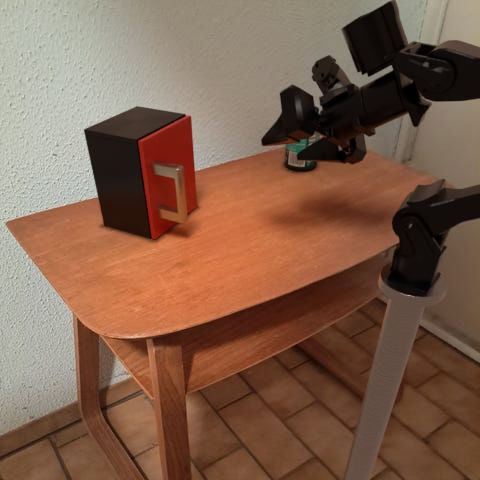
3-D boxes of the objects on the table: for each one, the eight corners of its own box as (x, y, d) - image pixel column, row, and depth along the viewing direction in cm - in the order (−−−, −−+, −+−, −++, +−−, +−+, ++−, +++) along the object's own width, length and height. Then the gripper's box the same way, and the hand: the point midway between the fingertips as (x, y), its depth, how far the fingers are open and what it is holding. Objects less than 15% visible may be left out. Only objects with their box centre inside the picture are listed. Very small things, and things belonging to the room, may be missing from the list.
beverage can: (314, 159, 106) (319, 103, 98) (318, 172, 100) (325, 113, 93) (282, 160, 106) (286, 103, 98) (285, 172, 100) (289, 114, 92)
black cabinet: (192, 206, 89) (185, 113, 78) (150, 238, 79) (136, 139, 69) (149, 195, 92) (137, 106, 81) (103, 225, 83) (83, 129, 72)
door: (222, 212, 86) (219, 120, 76) (182, 247, 77) (172, 147, 66) (193, 205, 88) (187, 115, 78) (151, 238, 79) (137, 140, 69)
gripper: (392, 75, 71) (306, 119, 82) (327, 18, 57) (234, 80, 68) (403, 145, 70) (315, 181, 81) (339, 105, 56) (243, 154, 67)
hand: (280, 150), depth 74 cm, fingers open, 9 cm apart
